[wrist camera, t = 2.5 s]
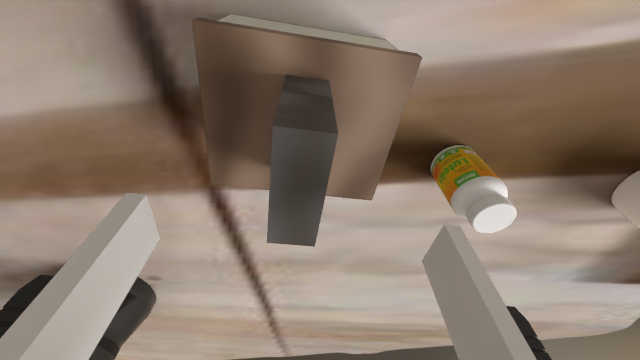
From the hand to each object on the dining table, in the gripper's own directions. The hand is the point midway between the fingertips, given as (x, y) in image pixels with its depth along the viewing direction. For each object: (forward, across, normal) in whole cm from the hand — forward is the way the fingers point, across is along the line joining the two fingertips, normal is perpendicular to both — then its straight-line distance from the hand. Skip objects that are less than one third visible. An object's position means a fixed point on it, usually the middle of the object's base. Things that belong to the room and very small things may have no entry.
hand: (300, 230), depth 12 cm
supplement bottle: (+19, +19, -6) cm, 27 cm away
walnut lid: (+12, 0, 0) cm, 12 cm away
